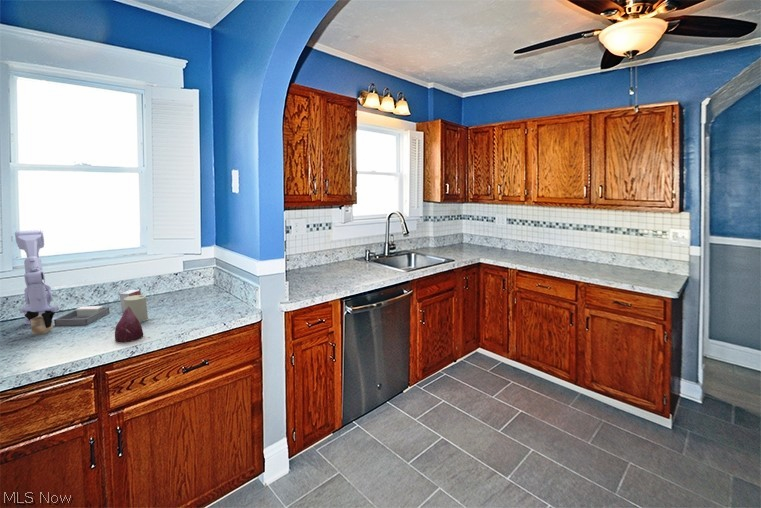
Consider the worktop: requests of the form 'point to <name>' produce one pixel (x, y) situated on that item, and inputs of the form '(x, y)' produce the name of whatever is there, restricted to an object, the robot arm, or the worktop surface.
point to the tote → (79, 318)
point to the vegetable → (128, 327)
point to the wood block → (39, 325)
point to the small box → (127, 294)
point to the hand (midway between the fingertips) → (42, 327)
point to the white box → (88, 310)
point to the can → (137, 306)
